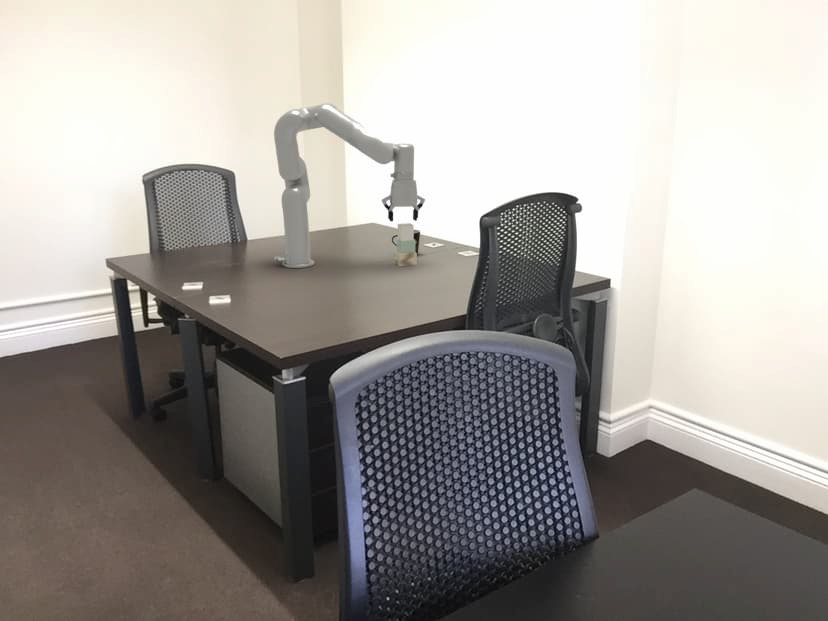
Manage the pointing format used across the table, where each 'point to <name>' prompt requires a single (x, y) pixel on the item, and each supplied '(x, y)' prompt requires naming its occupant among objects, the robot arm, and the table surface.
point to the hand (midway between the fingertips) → (403, 220)
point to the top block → (405, 232)
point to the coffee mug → (416, 238)
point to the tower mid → (405, 246)
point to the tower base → (405, 259)
